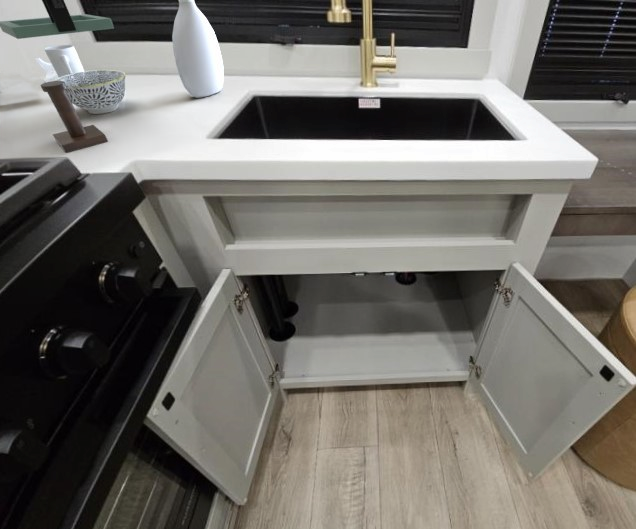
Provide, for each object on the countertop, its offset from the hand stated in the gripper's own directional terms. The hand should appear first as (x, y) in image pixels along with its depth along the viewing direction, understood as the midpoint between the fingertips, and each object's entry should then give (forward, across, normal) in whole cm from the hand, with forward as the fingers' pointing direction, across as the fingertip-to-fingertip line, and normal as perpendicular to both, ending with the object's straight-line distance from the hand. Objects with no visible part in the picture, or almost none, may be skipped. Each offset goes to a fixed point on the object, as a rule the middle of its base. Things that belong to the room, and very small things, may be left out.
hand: (66, 30), depth 60 cm
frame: (+1, +7, 0) cm, 7 cm away
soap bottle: (+19, +11, -30) cm, 37 cm away
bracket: (+19, +56, -4) cm, 59 cm away
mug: (+19, +33, -3) cm, 38 cm away
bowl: (+19, +18, -4) cm, 26 cm away
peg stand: (+19, -1, +6) cm, 20 cm away
